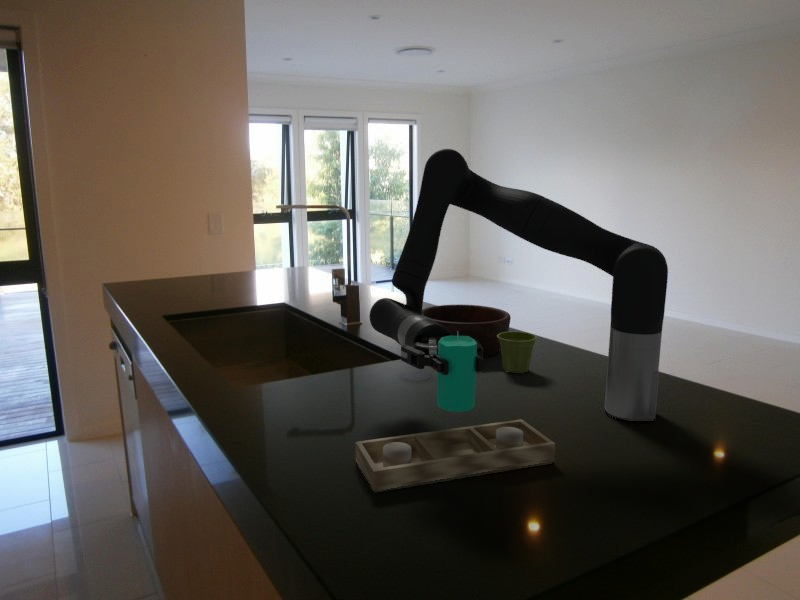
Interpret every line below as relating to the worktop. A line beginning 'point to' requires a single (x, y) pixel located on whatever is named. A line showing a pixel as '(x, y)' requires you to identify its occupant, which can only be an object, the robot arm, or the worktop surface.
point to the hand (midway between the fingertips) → (463, 366)
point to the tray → (451, 453)
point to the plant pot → (516, 350)
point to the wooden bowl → (472, 323)
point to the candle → (457, 373)
